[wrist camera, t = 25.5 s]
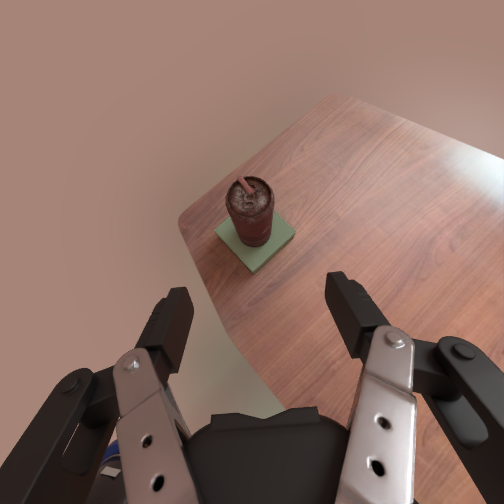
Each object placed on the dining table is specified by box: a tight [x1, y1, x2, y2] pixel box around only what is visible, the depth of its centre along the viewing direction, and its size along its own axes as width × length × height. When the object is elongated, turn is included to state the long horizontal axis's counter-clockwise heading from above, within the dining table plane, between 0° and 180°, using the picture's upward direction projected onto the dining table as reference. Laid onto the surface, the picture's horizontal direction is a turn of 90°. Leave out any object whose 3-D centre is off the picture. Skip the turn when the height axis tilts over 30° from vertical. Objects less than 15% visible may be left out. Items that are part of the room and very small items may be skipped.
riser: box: [214, 211, 296, 274], centre depth 40 cm, size 11×11×4 cm
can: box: [226, 176, 274, 247], centre depth 31 cm, size 6×6×14 cm
